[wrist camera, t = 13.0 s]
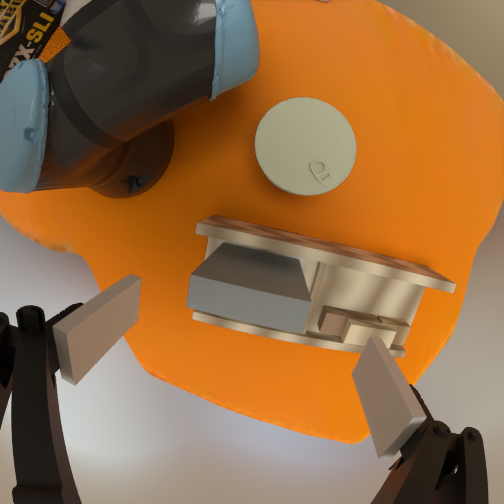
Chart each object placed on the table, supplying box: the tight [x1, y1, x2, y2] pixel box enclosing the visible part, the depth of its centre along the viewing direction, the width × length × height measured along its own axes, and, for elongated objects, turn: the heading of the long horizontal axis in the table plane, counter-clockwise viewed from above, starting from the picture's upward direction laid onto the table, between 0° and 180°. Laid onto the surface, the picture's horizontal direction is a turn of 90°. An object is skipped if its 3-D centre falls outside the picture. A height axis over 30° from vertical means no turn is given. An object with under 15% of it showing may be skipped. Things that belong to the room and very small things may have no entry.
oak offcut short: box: [377, 315, 411, 345], centre depth 35 cm, size 5×3×2 cm, turn 78°
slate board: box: [186, 242, 312, 334], centre depth 29 cm, size 10×3×14 cm, turn 78°
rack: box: [193, 215, 456, 358], centre depth 33 cm, size 32×14×8 cm, turn 78°
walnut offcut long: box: [317, 305, 380, 336], centre depth 35 cm, size 8×3×2 cm, turn 78°
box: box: [0, 0, 66, 84], centre depth 18 cm, size 34×8×27 cm, turn 148°
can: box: [255, 97, 356, 196], centre depth 28 cm, size 9×9×12 cm
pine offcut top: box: [341, 317, 396, 349], centre depth 33 cm, size 7×3×2 cm, turn 78°
